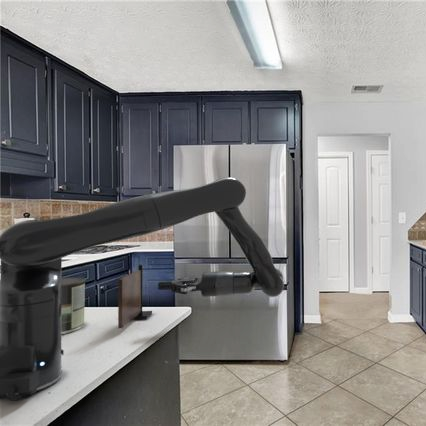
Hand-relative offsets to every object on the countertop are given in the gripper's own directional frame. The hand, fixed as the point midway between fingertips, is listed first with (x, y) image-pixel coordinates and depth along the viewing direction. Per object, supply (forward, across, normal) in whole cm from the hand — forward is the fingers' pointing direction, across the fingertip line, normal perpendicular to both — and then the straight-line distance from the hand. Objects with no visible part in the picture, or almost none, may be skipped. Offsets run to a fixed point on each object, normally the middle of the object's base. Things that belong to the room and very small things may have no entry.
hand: (159, 285), depth 90 cm
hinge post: (+9, -9, +13) cm, 18 cm away
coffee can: (+27, -3, +13) cm, 30 cm away
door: (+9, -3, +11) cm, 15 cm away
